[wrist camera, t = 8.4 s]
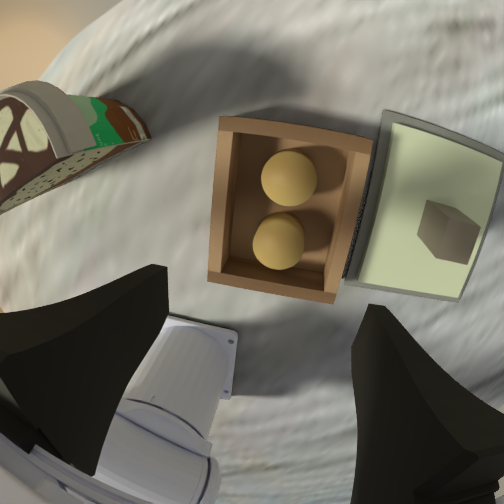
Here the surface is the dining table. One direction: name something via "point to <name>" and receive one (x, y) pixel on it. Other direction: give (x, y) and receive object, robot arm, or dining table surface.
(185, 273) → the dining table surface
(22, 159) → the food container
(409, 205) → the lid
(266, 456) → the dining table surface
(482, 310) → the dining table surface
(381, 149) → the mat
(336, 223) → the box
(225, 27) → the dining table surface
